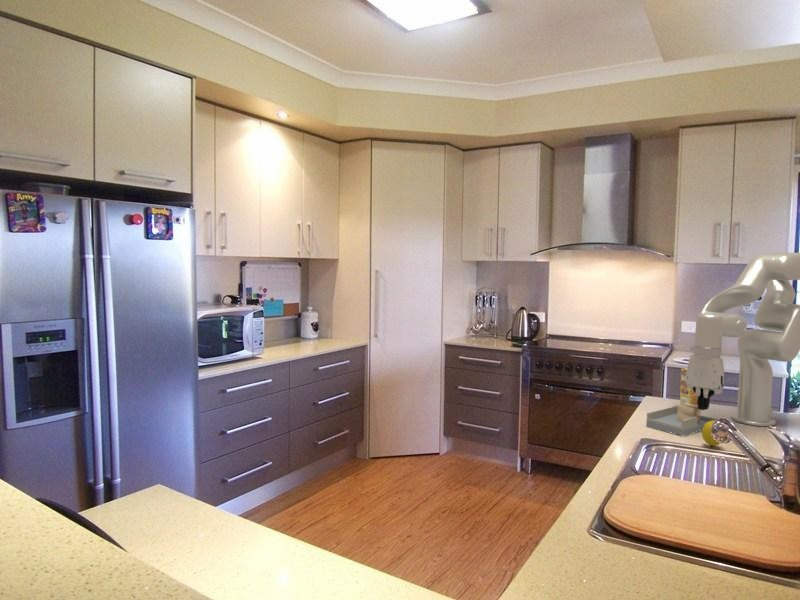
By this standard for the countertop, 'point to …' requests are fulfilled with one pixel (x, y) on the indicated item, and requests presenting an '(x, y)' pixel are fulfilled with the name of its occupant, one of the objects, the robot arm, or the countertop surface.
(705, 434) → the lemon
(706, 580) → the countertop surface
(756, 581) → the countertop surface
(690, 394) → the candy box
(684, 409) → the block
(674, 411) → the pale blue tray
